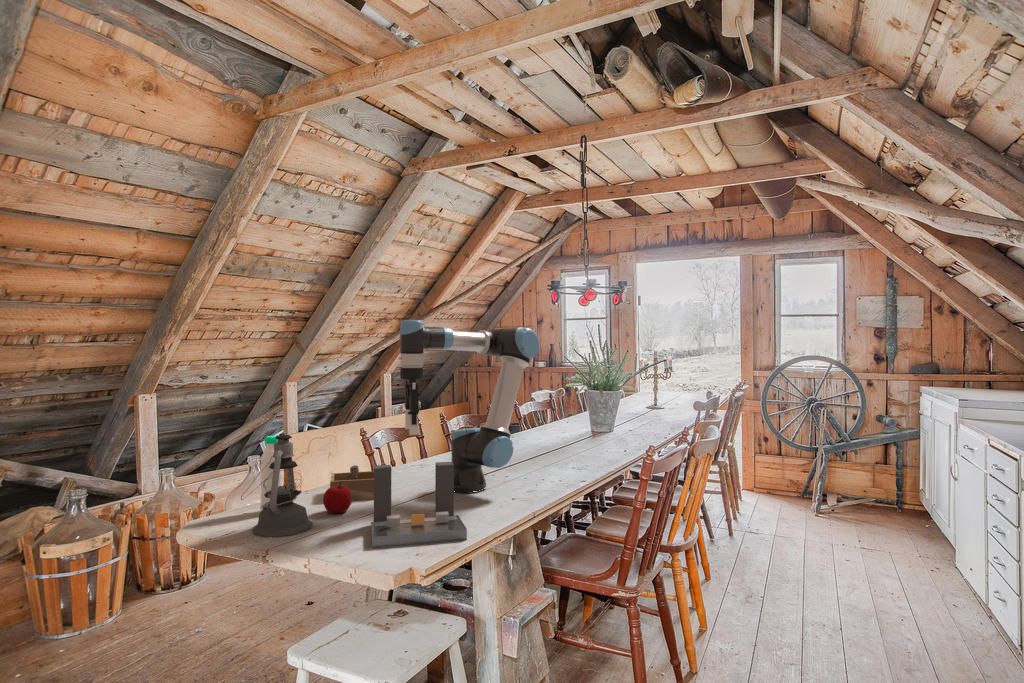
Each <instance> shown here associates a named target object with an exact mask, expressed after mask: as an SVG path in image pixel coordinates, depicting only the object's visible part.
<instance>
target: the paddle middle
mask: <svg viewBox="0 0 1024 683" xmlns="http://www.w3.org/2000/svg"><path fill="white" fill-rule="evenodd" d="M410 516H411V517H410V519H411V524H421V523H424V518H425V513H418V514H411V515H410Z"/></svg>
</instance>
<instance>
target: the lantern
mask: <svg viewBox="0 0 1024 683" xmlns="http://www.w3.org/2000/svg"><path fill="white" fill-rule="evenodd" d="M283 430H286V428H282V429H281V432H282V433H281V434H279V435H276V437H275V439H278V443H275V444H274V454H273V455H272V457H273V458H275V461H274V462H272V463H271V464H270V466H269V468H270V469H274V471H273V472H272V473H273V479H272V478H270V477H271V476H272V475H271V474H272V473H271V474H270V475H271V476H270V475H269V476H270V477H269V476H268V477H269V479H272V487H270V488H271V491H267V490H266V491H267V492H266V493H265V494H264V496H265V497H266V498H270V501H269V502H267V503H265V504H264V505H262V506H261V505H260V506H259V508H260V507H262V508H263V510H262V511H260V512H259V515H258V521H257V524H256V525H254V526H253V527H252V529H251V532H252V535H253V536H256V537H259V536H261V537H260V538H269V537H272V538H284V536H285V537H290V536H291V537H292V536H296V535H299V534H302V533H305V532H308V531H309V530H311V529H312V527H313V525H314V523H313V521H311V520H310V519H309V517H308V516H309V515H308V514H307V508H306V507H305V506H303V505H301V504H300V503H299V504H298V503H296V502H294V501H295V500H296V499H297V498H298V496H299V495H300V494H302V488H301V487H302V484H303V482H302V481H303V479H302V478H303V476H302V475H301V473H300V472H297V471H295V472H294V468H296V467H298V464H297V462H296V461H294V460H293V457H295V455H294V442H291V441H290V439H293V436H292V435H290V434H286V432H283ZM272 457H271V459H272ZM271 459H270V461H271ZM269 463H270V462H269ZM269 463H268V464H269ZM268 464H267V465H268ZM267 465H266V466H267ZM266 466H265V467H266ZM265 467H264V468H265ZM264 468H263V469H264ZM263 469H262V470H263ZM280 469H284V470H280ZM262 470H261V469H260V471H259V473H258V474H257V475H256V476H255V477H254V479H253V480H252V482H251V483H250V484H249V486H248V487H247V488H246V489H245V491H243V493H242V494H241V496H240V500H241V501H243V500H244V499H246V498H247V497H248V496H249V495H251V494H253V492H254V491H255V490H257V489H258V488H259V487H261V484H262V483H263V482H264V483H265V481H266V480H268V477H267V478H266V479H265V480H264V481H263V482H262V483H261V482H260V484H259V485H258V486H257V487H255V488H254V489H253V490H252V491H251V492H249V493H248V494H246V496H244V494H245V493H246V492H247V491H249V489H250V488H251V486H252V485H253V483H254V482H255V481H256V480H257V478H258V476H259V475H261V471H262ZM280 471H284V472H286V473H287V477H286V479H287V481H288V482H287V483H286V484H283V486H279V487H278V482H279V474H280ZM294 473H297V474H299V476H300V478H301V479H300V478H295V474H294ZM296 480H299V481H300V483H299V484H298V485H297V483H296V482H295V481H296ZM264 483H263V486H264V488H265V487H266V486H265V485H264ZM299 486H300V487H299ZM298 487H299V489H300V490H298V489H297V488H298ZM265 489H266V488H265ZM243 496H244V497H243Z"/></svg>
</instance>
